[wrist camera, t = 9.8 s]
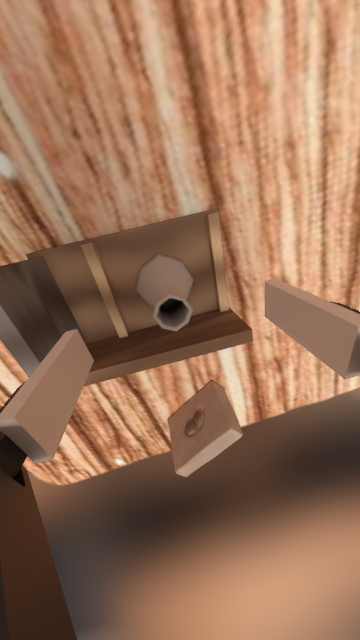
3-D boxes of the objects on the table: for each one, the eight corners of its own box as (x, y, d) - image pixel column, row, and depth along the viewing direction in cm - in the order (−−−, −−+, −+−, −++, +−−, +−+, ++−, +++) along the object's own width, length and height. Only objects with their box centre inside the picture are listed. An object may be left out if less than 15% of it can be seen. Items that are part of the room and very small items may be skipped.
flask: (171, 318, 27) (182, 363, 18) (125, 291, 24) (110, 326, 15) (203, 276, 25) (233, 301, 16) (156, 241, 22) (160, 247, 13)
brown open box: (31, 253, 22) (-53, 268, 13) (214, 209, 23) (257, 194, 14) (83, 350, 28) (52, 407, 19) (226, 313, 29) (261, 351, 20)
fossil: (210, 378, 34) (231, 427, 26) (223, 387, 36) (247, 436, 27) (166, 418, 37) (171, 474, 28) (180, 424, 38) (189, 480, 30)
